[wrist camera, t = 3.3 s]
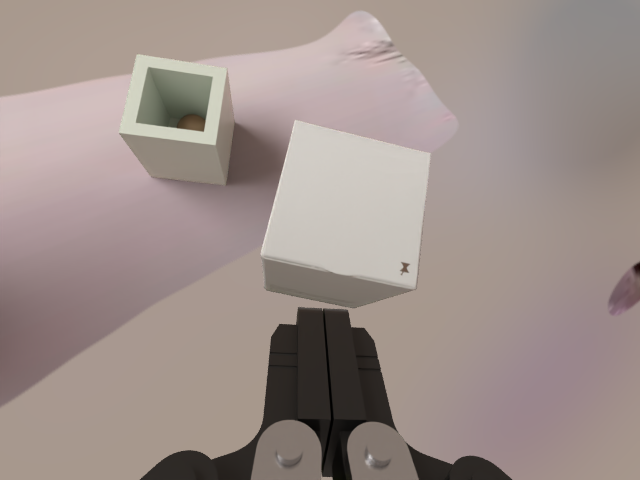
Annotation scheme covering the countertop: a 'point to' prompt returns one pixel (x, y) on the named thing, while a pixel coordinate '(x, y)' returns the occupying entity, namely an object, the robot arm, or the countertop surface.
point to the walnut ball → (192, 123)
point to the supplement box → (345, 218)
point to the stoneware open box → (168, 108)
